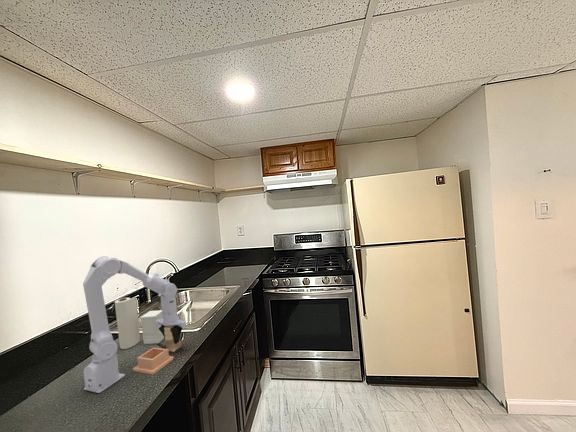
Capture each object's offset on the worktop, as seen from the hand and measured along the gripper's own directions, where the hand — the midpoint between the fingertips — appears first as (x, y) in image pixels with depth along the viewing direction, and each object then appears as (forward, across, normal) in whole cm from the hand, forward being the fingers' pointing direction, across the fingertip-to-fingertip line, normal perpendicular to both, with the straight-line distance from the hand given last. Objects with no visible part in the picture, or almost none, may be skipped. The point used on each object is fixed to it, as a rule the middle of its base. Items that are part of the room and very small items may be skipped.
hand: (172, 342), depth 113 cm
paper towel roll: (+3, +24, +2) cm, 24 cm away
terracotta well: (+3, -1, +11) cm, 11 cm away
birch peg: (+3, 0, 0) cm, 3 cm away
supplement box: (+3, +16, -5) cm, 17 cm away
